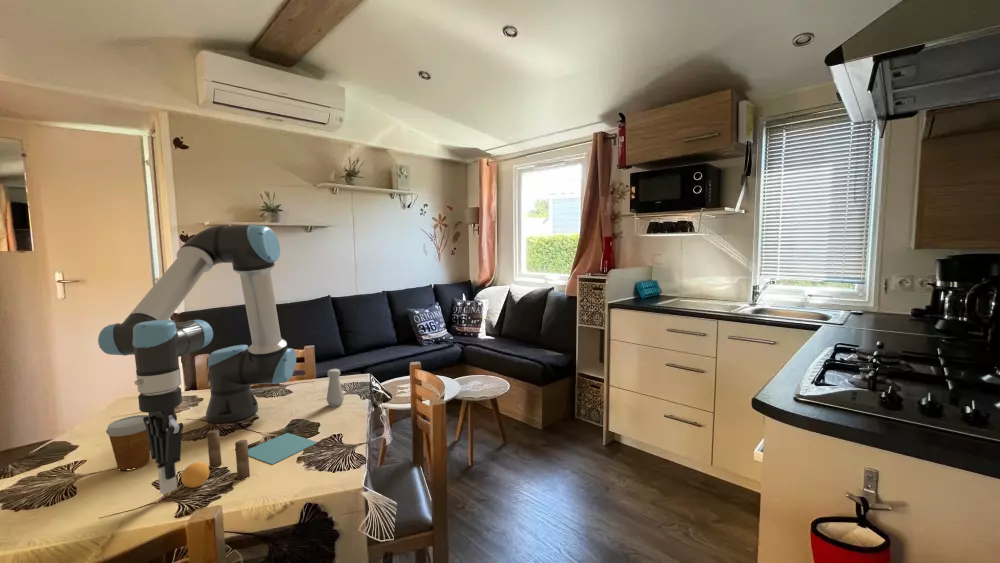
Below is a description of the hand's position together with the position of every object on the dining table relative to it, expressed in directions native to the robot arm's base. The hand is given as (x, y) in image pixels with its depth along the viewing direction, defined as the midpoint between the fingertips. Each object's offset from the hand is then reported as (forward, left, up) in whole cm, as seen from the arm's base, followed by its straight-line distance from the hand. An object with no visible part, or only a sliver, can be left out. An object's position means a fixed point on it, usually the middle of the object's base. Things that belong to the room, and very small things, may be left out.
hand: (168, 490), depth 97 cm
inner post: (-6, +13, -2) cm, 15 cm away
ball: (0, +6, +1) cm, 6 cm away
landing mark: (0, +27, -2) cm, 27 cm away
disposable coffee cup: (-26, +3, -2) cm, 26 cm away
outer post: (+6, +13, -2) cm, 15 cm away
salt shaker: (-13, +57, -2) cm, 59 cm away
